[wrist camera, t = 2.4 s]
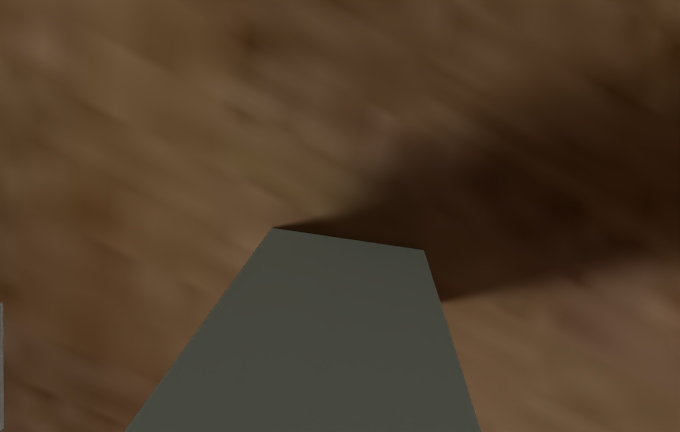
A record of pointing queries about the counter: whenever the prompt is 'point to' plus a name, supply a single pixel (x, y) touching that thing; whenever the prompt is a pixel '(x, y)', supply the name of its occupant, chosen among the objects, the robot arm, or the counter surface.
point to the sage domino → (318, 347)
